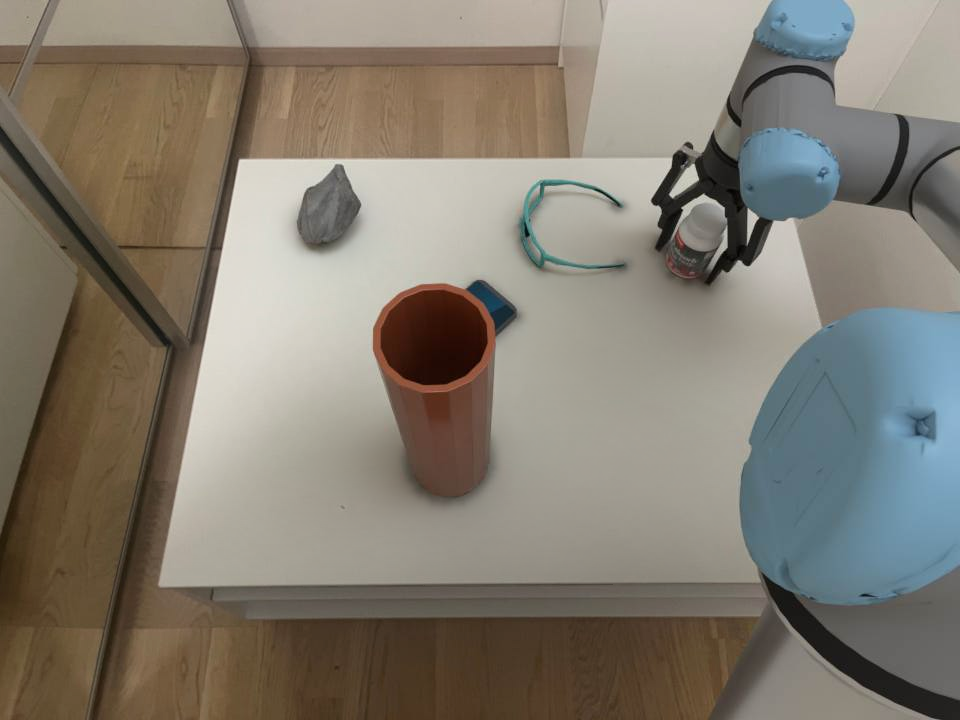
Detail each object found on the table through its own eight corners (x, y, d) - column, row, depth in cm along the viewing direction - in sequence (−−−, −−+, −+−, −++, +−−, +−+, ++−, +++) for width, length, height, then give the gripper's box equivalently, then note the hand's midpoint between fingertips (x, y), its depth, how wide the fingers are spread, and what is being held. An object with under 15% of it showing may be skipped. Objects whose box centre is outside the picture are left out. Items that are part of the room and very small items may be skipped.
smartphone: (520, 314, 87) (520, 310, 86) (437, 390, 83) (436, 387, 82) (479, 279, 89) (479, 275, 89) (396, 351, 85) (395, 348, 84)
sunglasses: (517, 191, 96) (523, 167, 91) (619, 201, 97) (629, 178, 92) (516, 274, 90) (522, 253, 85) (624, 283, 91) (635, 263, 86)
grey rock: (306, 190, 96) (292, 150, 89) (369, 191, 96) (360, 152, 89) (295, 255, 91) (280, 219, 84) (361, 256, 91) (351, 220, 84)
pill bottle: (656, 260, 91) (675, 215, 82) (683, 237, 93) (705, 190, 84) (688, 287, 89) (711, 244, 80) (715, 263, 91) (741, 218, 82)
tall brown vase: (504, 456, 79) (520, 331, 50) (451, 513, 76) (435, 417, 47) (448, 407, 82) (432, 262, 53) (395, 461, 79) (347, 339, 50)
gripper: (853, 169, 68) (766, 285, 89) (688, 73, 74) (643, 203, 95) (816, 214, 66) (735, 322, 87) (648, 110, 72) (610, 235, 92)
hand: (687, 260), depth 91 cm, fingers open, 7 cm apart
